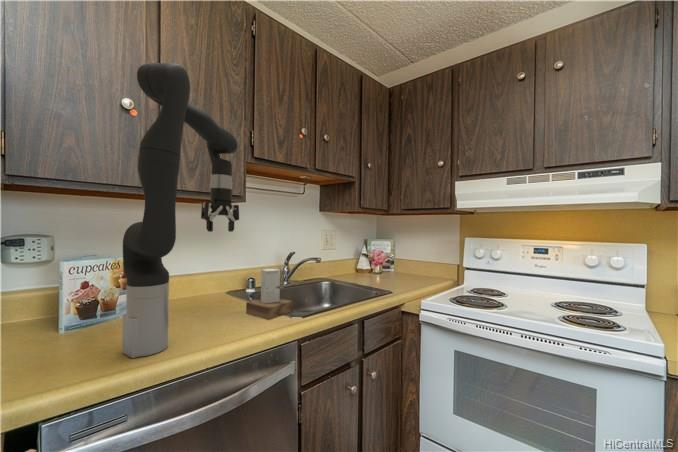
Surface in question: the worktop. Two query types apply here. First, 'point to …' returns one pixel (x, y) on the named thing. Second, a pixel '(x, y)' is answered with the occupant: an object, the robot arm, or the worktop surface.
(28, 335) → the worktop surface
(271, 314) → the walnut plinth
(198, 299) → the worktop surface
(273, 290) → the skincare box
